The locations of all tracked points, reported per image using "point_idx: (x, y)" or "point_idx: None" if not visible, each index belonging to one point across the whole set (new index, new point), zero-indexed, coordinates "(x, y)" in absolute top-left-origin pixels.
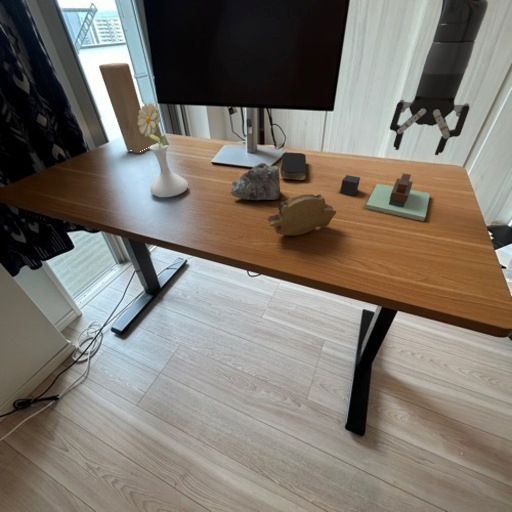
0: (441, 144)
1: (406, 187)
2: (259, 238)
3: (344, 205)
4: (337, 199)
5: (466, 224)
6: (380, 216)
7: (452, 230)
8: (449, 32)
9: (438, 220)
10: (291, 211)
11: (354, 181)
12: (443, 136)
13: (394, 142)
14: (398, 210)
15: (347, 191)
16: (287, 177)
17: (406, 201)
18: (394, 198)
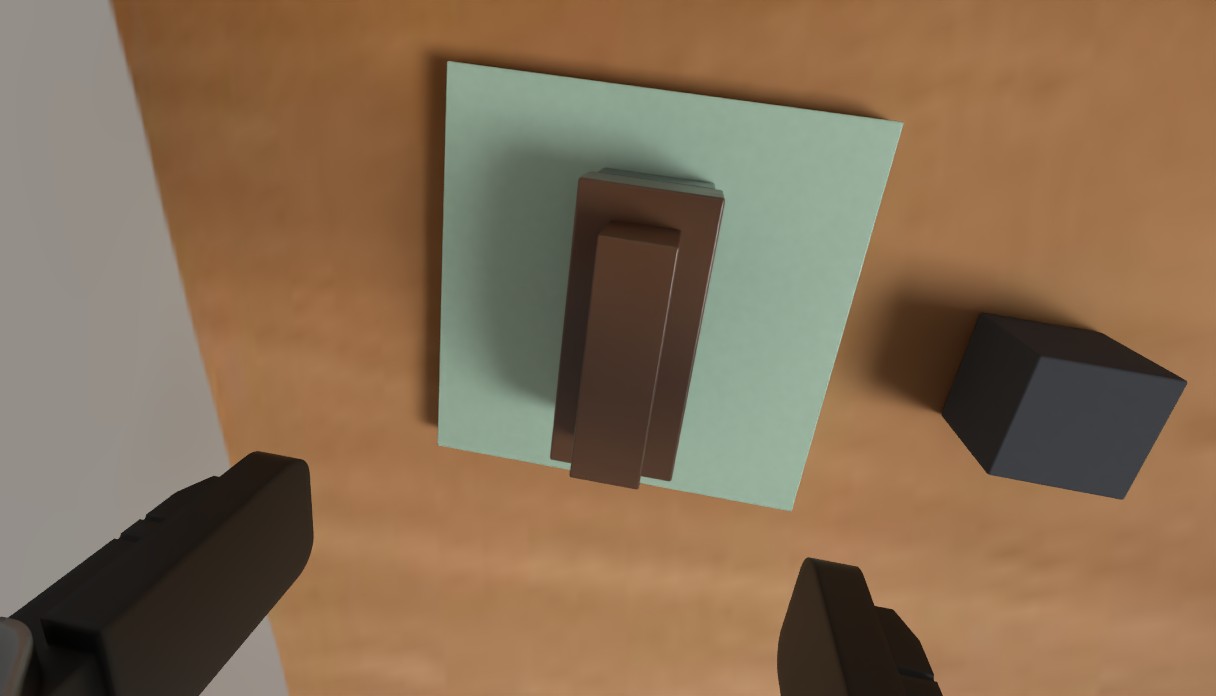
0: (144, 546)
1: (604, 228)
2: None
3: (1080, 114)
4: (1138, 209)
5: (219, 127)
6: (769, 22)
7: (283, 3)
8: None
9: (372, 119)
10: None
11: (1057, 380)
12: (12, 660)
13: (929, 676)
14: (638, 103)
15: (1053, 332)
16: None
17: None
18: (684, 187)
